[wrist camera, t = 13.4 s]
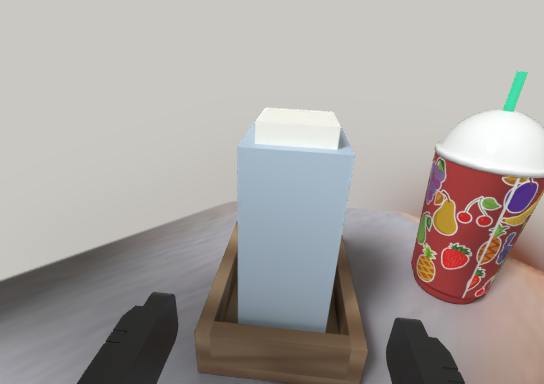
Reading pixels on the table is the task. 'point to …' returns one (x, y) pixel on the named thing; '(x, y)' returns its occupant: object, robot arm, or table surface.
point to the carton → (290, 217)
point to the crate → (280, 335)
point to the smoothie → (478, 200)
